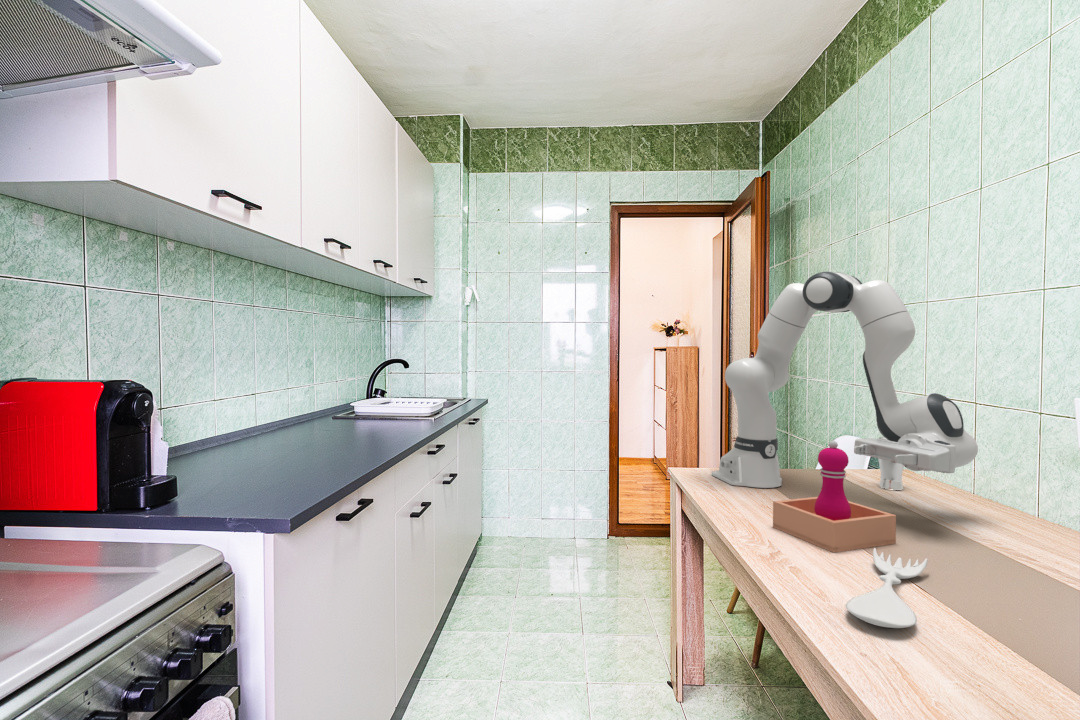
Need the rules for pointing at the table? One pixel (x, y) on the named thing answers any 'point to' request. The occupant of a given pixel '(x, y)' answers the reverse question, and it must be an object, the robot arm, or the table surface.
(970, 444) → the robot arm
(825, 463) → the pepper mill
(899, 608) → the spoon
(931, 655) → the table surface
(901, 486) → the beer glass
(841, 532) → the crate
